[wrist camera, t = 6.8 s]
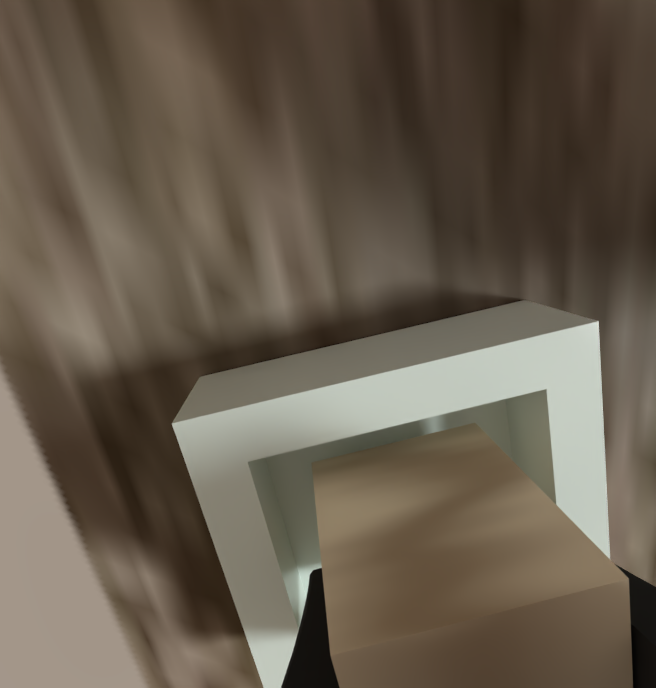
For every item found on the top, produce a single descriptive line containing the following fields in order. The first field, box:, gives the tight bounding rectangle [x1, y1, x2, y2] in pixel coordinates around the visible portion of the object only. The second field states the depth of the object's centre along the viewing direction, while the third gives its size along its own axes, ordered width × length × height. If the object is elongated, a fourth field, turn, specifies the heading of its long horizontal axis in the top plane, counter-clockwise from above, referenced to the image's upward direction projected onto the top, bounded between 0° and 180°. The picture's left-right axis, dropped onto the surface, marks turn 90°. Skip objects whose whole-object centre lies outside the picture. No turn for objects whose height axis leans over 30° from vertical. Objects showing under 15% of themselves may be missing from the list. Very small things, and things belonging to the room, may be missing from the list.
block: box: [311, 423, 633, 688], centre depth 11 cm, size 5×5×6 cm
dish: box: [172, 300, 610, 688], centre depth 14 cm, size 11×11×4 cm
